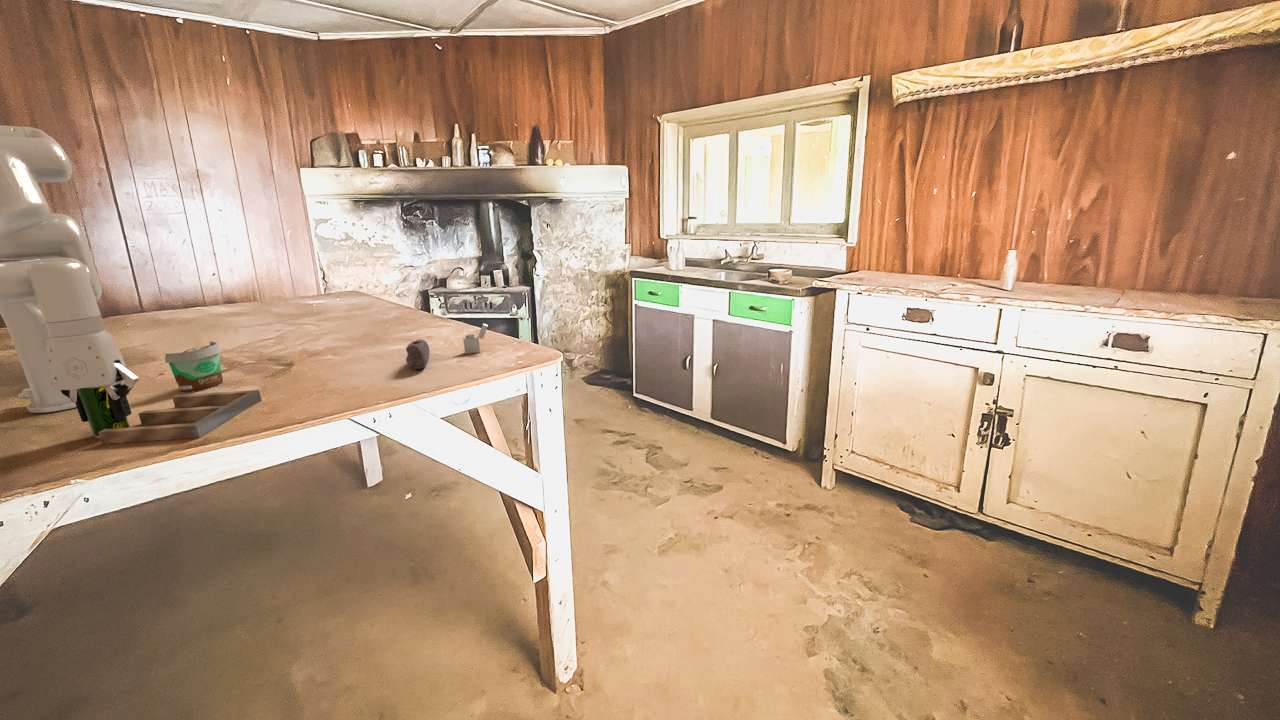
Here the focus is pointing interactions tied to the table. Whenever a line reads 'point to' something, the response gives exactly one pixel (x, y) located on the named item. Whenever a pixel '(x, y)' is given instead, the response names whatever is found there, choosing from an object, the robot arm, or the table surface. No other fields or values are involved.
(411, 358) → the perforated stone tool
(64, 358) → the robot arm
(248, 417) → the table surface
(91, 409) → the beer can
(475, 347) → the lighter
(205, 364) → the food container
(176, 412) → the lane rack
